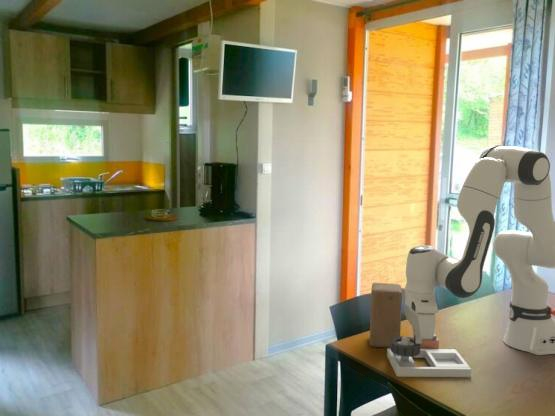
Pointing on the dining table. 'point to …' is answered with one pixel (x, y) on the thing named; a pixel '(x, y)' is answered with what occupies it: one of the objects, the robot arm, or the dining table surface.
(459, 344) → the dining table surface
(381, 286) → the wooden block
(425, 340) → the two-tone grey-capped cube
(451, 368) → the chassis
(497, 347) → the dining table surface
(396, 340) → the wheel
